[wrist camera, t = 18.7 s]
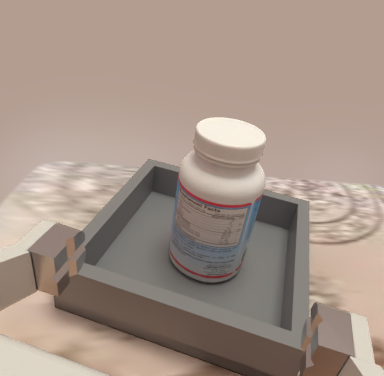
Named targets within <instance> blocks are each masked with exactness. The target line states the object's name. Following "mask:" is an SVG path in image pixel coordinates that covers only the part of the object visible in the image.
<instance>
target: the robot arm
mask: <svg viewBox="0 0 384 376" xmlns="http://www.w3.org/2000/svg"><path fill="white" fill-rule="evenodd" d="M84 241H85V233H84V232H83V231H80V230H77V229H74V228H71V227H68V226H65V225H62V224H59V223H55V222H52V221H49V220H47V219H46V220H43V221H41V222H40V223H39V224H37V225H36V226H35V227H34V228H33V229H32V230H31V231H30V232H28V233H27V234H26V235H25V236H24V237H23V238H22V239H20V240H19V241H18V242H17V243H16V244H15V245H14V246H10V245H8V246H5V247H2V248H0V311H1V310H3V309H5V308H7V307H8V306H10V305H12V304H14V303H16V302H18V301H20V300H22V299H23V298H25V297H27V296H29V295H31V294H33V293H35V292H36V291H37V290H39V291H42V292H45V293H48V294H51V295H55V296H58V297H59V296H60V295H61V293H62V292H63V291H64V290H65V288H66V287H67V286H68V285H69V283H70V277H71V276H73V275H76V274H77V273H78V272H79V271H80V269H81V268H82V266H83V264H84V262H85V258H86V249H85V247H84V246H83V244H82V243H83V242H84ZM301 349H302V351H303V352H304V354H303V356H302V358H301V360H300V376H384V370H383V369H382V368H381V366H379V365H376V364H375V360H374V355H373V349H372V343H371V337H370V331H369V326H368V320H367V318H366V317H365V316H362V315H359V314H355V313H352V312H348V311H345V310H342V309H338V308H335V307H332V306H328V305H325V304H321V303H318V302H315V303H314V304H313V306H312V309H311V317H309V318H307V319H306V322H305V324H304V327H303V331H302V336H301ZM0 376H110V375H108V374H105V373H102V372H100V371H97V370H94V369H92V368H89V367H87V366H84V365H81V364H79V363H76V362H73V361H71V360H68V359H66V358H63V357H60V356H58V355H55V354H52V353H50V352H47V351H45V350H42V349H39V348H37V347H34V346H31V345H29V344H26V343H24V342H21V341H18V340H16V339H13V338H10V337H8V336H5V335H3V334H0Z"/></svg>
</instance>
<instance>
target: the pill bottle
mask: <svg viewBox="0 0 384 376" xmlns="http://www.w3.org/2000/svg"><path fill="white" fill-rule="evenodd" d="M265 143H266V137H265V134H264V133H263V132H262V131H261V130H260V129H259V128H257V127H256V126H254V125H252V124H249V123H247V122H244V121H240V120H236V119H231V118H222V117H221V118H220V117H217V118H208V119H204V120H202V121H200V122H199V123H198V124H197V126H196V131H195V137H194V140H193V144H194V150H193V151H192V152H190V153H189V154H188V155H187V156H185V158H184V159H183V161H182V163H181V165H180V169H179V175H178V182H177V190H176V197H175V205H174V213H173V220H172V227H171V235H170V243H169V255H170V258H171V260H172V262H173V264H174V265H175V266H176V267H177V268H178V269H179V270H180V271H181V272H182V273H184V274H185V275H187V276H189V277H191V278H193V279H195V280H198V281H202V282H208V283H215V282H221V281H225V280H227V279H230V278H231V277H233V276H234V275H236V274H237V273H238V271H239V270H240V268H241V266H242V264H243V261H244V257H245V254H246V250H247V247H248V244H249V240H250V237H251V233H252V230H253V226H254V223H255V219H256V216H257V212H258V209H259V205H260V202H261V198H262V195H263V191H264V187H265V174H264V171H263V170H262V167H261V166H260V164H259V163H258V162H259V160H260V159H261V157H262V156H263V150H264V147H265Z"/></svg>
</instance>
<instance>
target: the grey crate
mask: <svg viewBox="0 0 384 376" xmlns="http://www.w3.org/2000/svg"><path fill="white" fill-rule="evenodd" d="M179 169H180V167H178V166H174V165H170V164H166V163H162V162H158V161H155V160H151V159H148V160H147V161H146V163H145V164H144V165H143V166H142V167H141V168H140V169H139V170H138V171H137V172H136V173H135V174H134V175H133V176H132V178H131V179H130V180H129V181H128V182H127V183H126V184H125V185H124V186H123V187H122V188H121V189H120V190H119V192H118V193H117V194H116V195H115V196H114V197H113V198H112V199H111V200H110V201H109V202H108V203H107V205H106V206H105V207H104V208H103V209H102V210H101V211H100V212H99V213H98V214H97V215H96V216H95V217H94V219H93V220H92V221H91V222H90V223H89V224H88V225H87V226H86V227H85V228H84V229H83V230H82V231H83V232H84V233H85V241H84V242H83V243H82V244H83V246H84V247H85V249H86V258H85V262H84V264H83V266H82V268H81V269H80V271H79V272H78V273H77V274H76V275H73V276H71V277H70V283H69V285H68V286H67V287H66V288H65V290H64V291H63V292H62V293H61V295H60V296H59V297H58V296H55V295H54V301H55V307H57V308H59V309H62V310H65V311H68V312H71V313H73V314H76V315H79V316H82V317H84V318H87V319H90V320H93V321H95V322H98V323H101V324H104V325H107V326H109V327H112V328H115V329H118V330H120V331H123V332H126V333H129V334H131V335H134V336H137V337H140V338H142V339H145V340H148V341H151V342H154V343H156V344H159V345H162V346H165V347H167V348H170V349H173V350H176V351H178V352H181V353H184V354H187V355H190V356H192V357H195V358H198V359H201V360H203V361H206V362H209V363H212V364H214V365H217V366H220V367H223V368H226V369H228V370H231V371H234V372H237V373H239V374H242V375H245V376H297V374H298V372H299V370H300V360H301V358H302V356H303V354H304V352H303V351H302V349H301V336H302V331H303V327H304V324H305V322H306V319H307V318H309V201H305V200H302V199H298V198H294V197H290V196H287V195H283V194H279V193H275V192H272V191H268V190H264V191H263V195H262V198H261V202H260V205H259V209H258V212H257V216H256V219H255V223H254V226H253V230H252V233H251V237H250V240H249V244H248V247H247V250H246V254H245V257H244V261H243V264H242V266H241V268H240V270H239V271H238V273H237V274H236V275H234V276H233V277H231V278H230V279H227V280H225V281H221V282H215V283H208V282H202V281H198V280H195V279H193V278H191V277H189V276H187V275H185V274H184V273H182V272H181V271H180V270H179V269H178V268H177V267H176V266H175V265H174V264H173V262H172V260H171V258H170V255H169V243H170V235H171V227H172V220H173V213H174V205H175V197H176V190H177V182H178V175H179Z"/></svg>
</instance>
